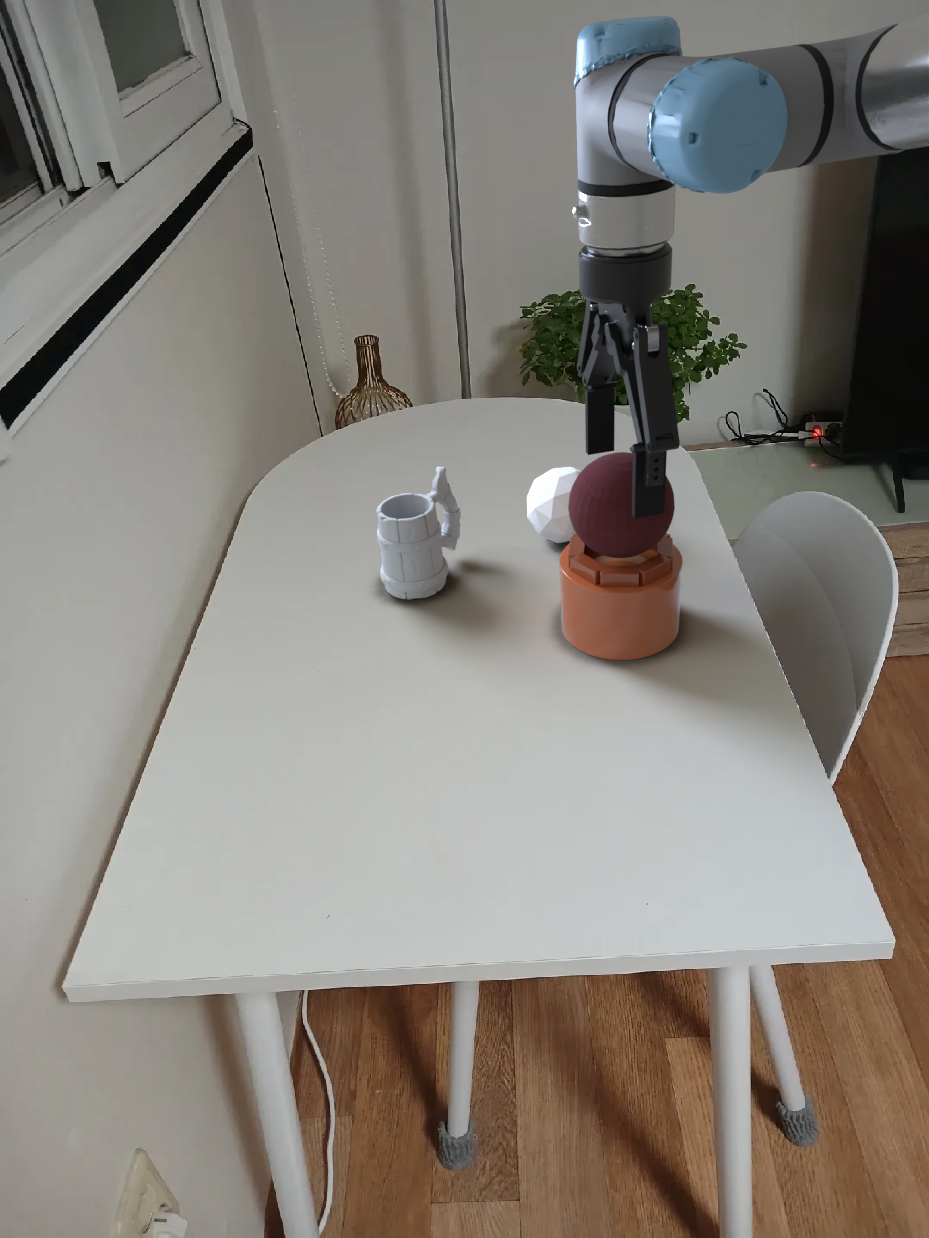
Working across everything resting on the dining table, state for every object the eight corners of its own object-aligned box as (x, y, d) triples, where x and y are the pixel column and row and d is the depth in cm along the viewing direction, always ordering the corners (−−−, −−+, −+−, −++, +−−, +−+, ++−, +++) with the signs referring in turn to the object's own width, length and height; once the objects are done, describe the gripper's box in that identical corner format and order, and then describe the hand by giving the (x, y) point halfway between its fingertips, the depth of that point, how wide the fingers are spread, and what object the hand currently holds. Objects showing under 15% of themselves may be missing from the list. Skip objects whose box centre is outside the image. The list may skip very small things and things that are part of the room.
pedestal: (680, 662, 93) (685, 580, 87) (557, 658, 95) (554, 578, 89) (677, 593, 102) (681, 516, 97) (565, 591, 104) (563, 515, 99)
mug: (368, 588, 108) (352, 494, 101) (437, 543, 115) (427, 452, 108) (417, 609, 104) (404, 513, 97) (486, 561, 111) (478, 468, 104)
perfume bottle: (597, 550, 107) (626, 512, 117) (575, 474, 104) (606, 441, 114) (528, 561, 112) (561, 523, 121) (505, 488, 109) (541, 455, 118)
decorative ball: (567, 527, 98) (565, 437, 92) (665, 522, 97) (669, 431, 91) (571, 580, 90) (569, 485, 84) (679, 575, 89) (684, 479, 83)
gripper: (540, 218, 87) (548, 435, 99) (632, 291, 66) (628, 552, 78) (619, 208, 87) (617, 423, 100) (734, 276, 67) (715, 537, 79)
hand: (622, 481), depth 89 cm, fingers open, 13 cm apart
